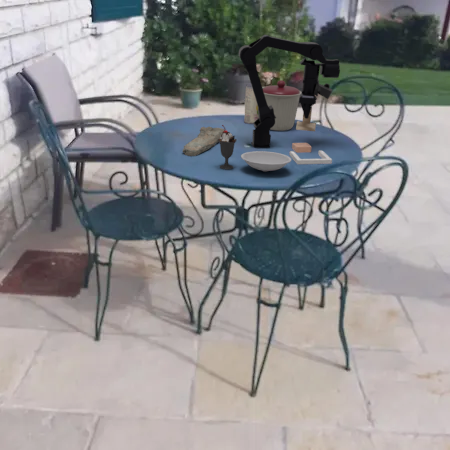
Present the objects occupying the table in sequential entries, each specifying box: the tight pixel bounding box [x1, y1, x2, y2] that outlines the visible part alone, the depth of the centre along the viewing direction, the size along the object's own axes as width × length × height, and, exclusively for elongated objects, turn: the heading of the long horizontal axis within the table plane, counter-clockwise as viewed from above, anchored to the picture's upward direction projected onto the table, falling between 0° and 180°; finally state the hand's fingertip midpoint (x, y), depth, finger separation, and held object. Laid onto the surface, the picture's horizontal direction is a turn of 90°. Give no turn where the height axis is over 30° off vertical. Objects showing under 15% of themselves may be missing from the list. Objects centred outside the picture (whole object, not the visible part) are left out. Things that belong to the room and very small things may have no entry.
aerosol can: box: [243, 82, 259, 125], centre depth 254 cm, size 7×7×20 cm
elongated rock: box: [182, 126, 224, 157], centre depth 222 cm, size 35×5×10 cm
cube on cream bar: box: [295, 106, 317, 132], centre depth 219 cm, size 8×3×9 cm, turn 78°
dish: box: [240, 150, 292, 173], centre depth 194 cm, size 18×14×5 cm
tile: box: [291, 142, 312, 154], centre depth 219 cm, size 6×6×2 cm
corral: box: [288, 150, 333, 165], centre depth 208 cm, size 13×12×2 cm
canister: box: [262, 79, 302, 132], centre depth 245 cm, size 18×18×21 cm
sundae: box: [218, 124, 237, 171], centre depth 194 cm, size 7×7×15 cm
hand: (306, 117), depth 219 cm, fingers closed on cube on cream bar, 3 cm apart
